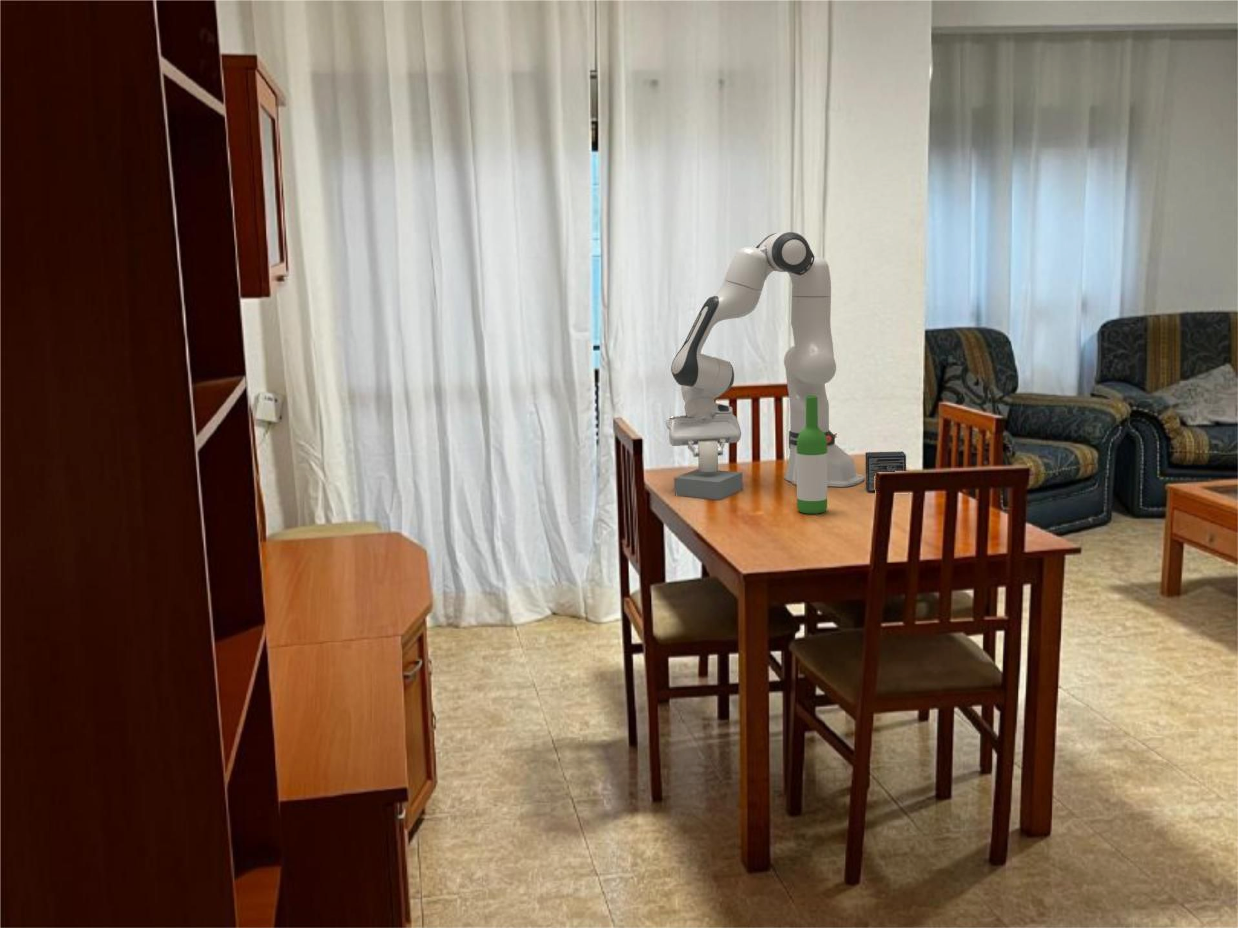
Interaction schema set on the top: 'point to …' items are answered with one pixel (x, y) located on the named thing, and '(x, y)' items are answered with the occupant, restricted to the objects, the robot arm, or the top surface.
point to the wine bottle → (812, 463)
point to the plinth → (708, 484)
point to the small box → (882, 465)
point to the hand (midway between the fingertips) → (708, 454)
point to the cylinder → (708, 455)
